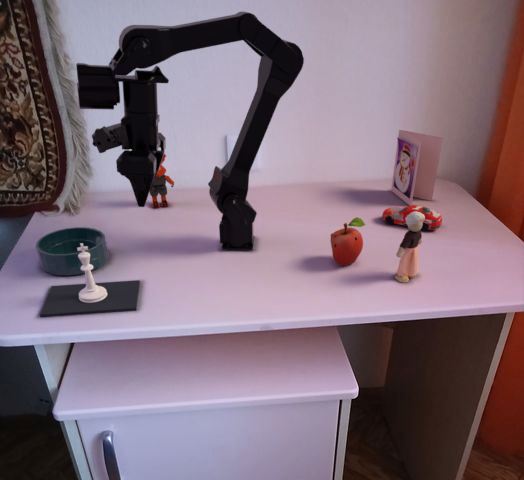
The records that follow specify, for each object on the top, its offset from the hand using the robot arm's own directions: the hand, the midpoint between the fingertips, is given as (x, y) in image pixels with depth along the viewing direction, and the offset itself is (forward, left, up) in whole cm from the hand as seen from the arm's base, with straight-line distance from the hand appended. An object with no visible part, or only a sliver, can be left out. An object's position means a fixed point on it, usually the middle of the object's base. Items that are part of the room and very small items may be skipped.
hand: (145, 198), depth 102 cm
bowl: (+15, +3, -12) cm, 20 cm away
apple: (-39, +2, -12) cm, 41 cm away
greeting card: (-58, -35, -12) cm, 69 cm away
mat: (+7, +17, -12) cm, 22 cm away
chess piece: (+7, +17, -12) cm, 22 cm away
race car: (-55, -18, -12) cm, 59 cm away
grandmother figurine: (-50, +7, -12) cm, 52 cm away
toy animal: (+4, -27, -12) cm, 30 cm away
